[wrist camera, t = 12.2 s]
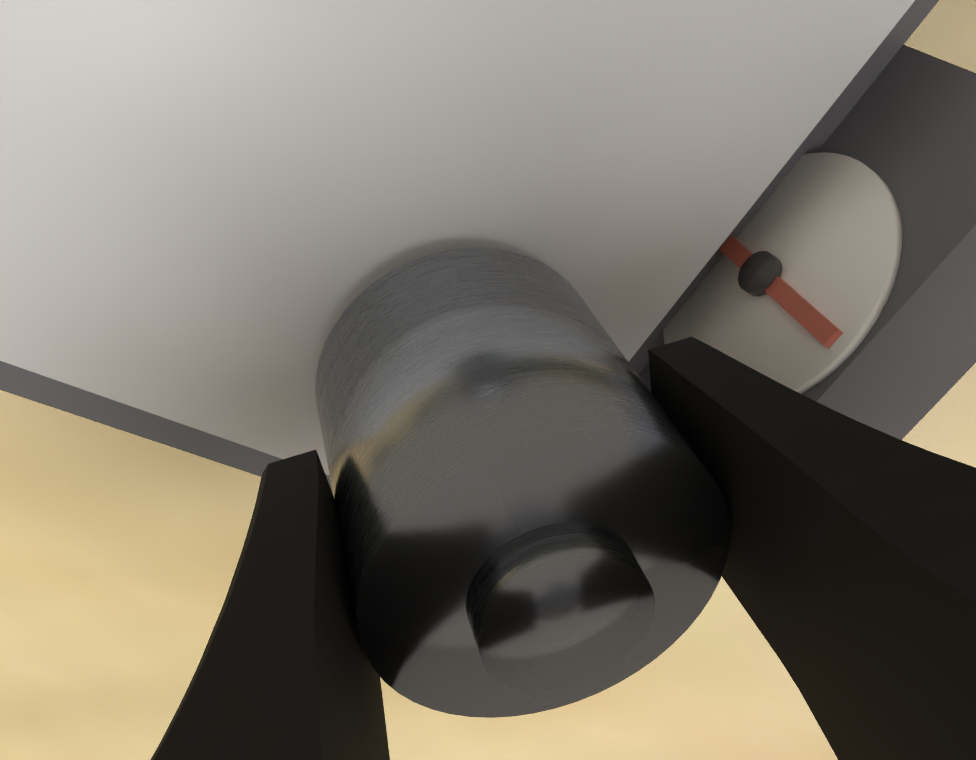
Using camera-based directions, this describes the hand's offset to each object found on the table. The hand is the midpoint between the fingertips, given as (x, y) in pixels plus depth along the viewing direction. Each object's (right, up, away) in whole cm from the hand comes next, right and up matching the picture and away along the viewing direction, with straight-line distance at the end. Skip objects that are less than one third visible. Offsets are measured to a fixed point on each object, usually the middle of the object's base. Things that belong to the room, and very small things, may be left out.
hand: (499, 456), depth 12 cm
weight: (-1, +1, +2) cm, 2 cm away
